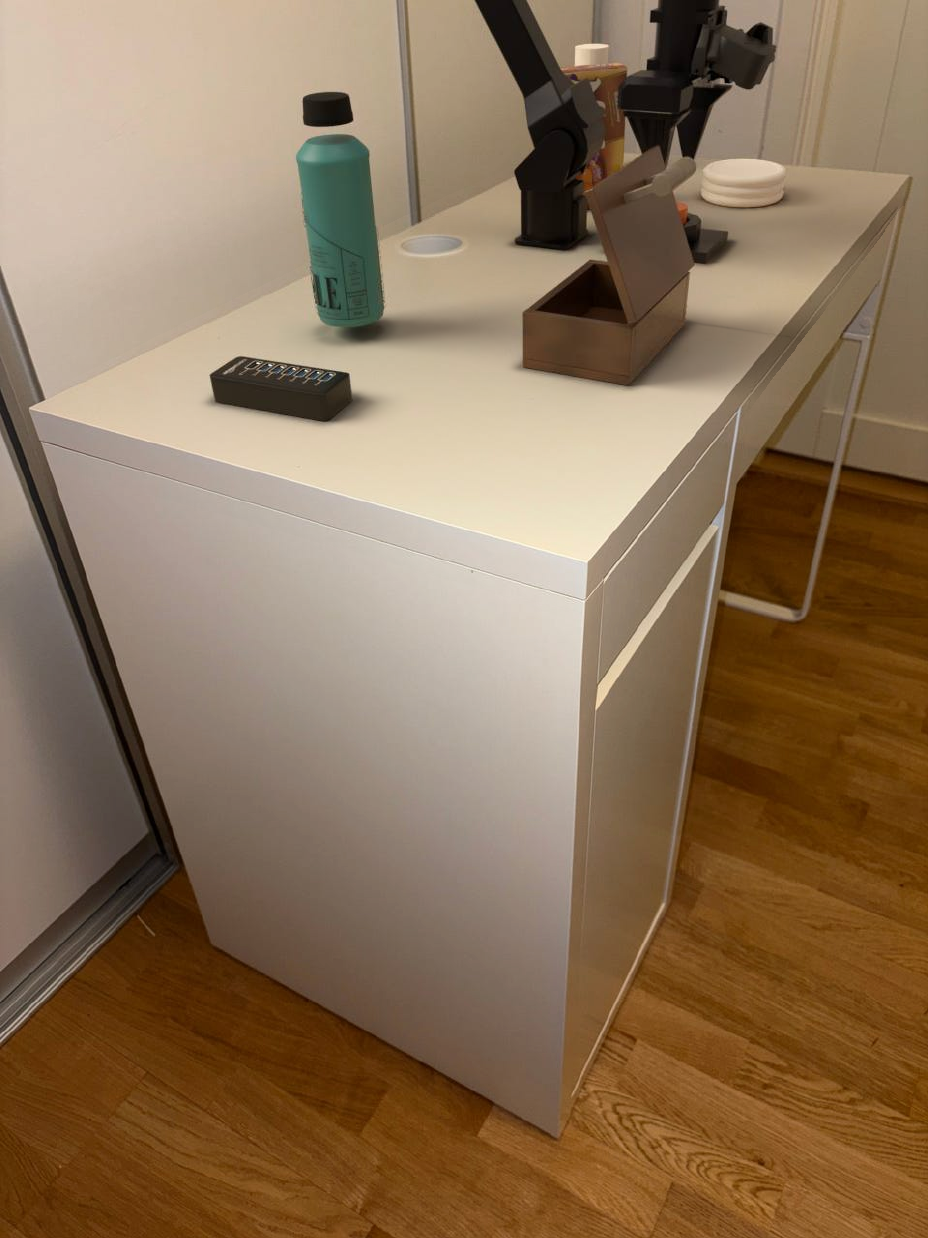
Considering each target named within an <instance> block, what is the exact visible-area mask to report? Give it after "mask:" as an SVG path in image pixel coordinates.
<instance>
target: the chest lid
mask: <svg viewBox="0 0 928 1238" xmlns="http://www.w3.org/2000/svg"><path fill="white" fill-rule="evenodd" d="M696 172H697V163H696V161H695V159H694V160H693V159H692V158H690V157H681V158H680V159H679V160H677V161H675V162H674V163H673V164H671V165H670V166H669V167H667V168H666V167H665V163H664V160H663V157H662V153H661V150H660V147H659V146H655V147H653V148H651V149H649V150H648V151H646V152H645V153H643V154H642V153H641V154H640V155H639V156H637V157H636V158H634V159H633V160H631V161H630V162H628V163H626V164H625V165H623V167H622V168H620V169H619V170H617V171H616V172H614V173H613V174H611V175H610V176H608V177H607V178H605V179H604V180H602V181H600V182H599V183H597V184H596V185H594V186H593V187H591V188H590V189H588V190H587V191H585V195H586V198H587V201H588V204H589V207H590V209H589V210H590V213H591V216H592V219H593V222H594V225H595V228H596V231H597V235H598V237H599V240H600V243H601V246H602V249H603V252H604V256H605V258H606V262H608V264H609V267H610V270H611V273H612V276H613V279H614V282H615V285H616V288H617V291H618V294H619V297H620V300H621V303H622V306H623V309H624V312H625V315H626V318H627V321H628V324H631V323H635V322H637V321H638V320H639V319H640V318H641V317H642V316H643V315H644V314H645V313H646V312H647V311H648V310H649V309H650V308H651V307H652V306H654V305H655V304H656V303H657V302H658V301H659V300H660V299H661V298H662V297H663V296H664V295H665V294H666V293H667V292H668V291H669V290H670V289H671V288H672V287H673V286H674V285H675V284H676V283H677V282H678V281H679V280H680V279H681V278H682V277H683V276H684V275H685V274H686V273H687V272H690V271H691V269H692V268H693V267H695V264H696V263H694V261H693V258H692V254H691V251H690V248H689V244H688V241H687V238H686V234H685V231H684V227H683V224H682V221H681V217H680V214H679V211H678V207H677V204H676V202H677V201H676V197H675V194H674V191H675V190H676V189H678V188H679V187H681V185H683V184H684V183H685V182H686V181H688V180H689V179H690V178H692V177H693V176H694V175H695V173H696Z"/></svg>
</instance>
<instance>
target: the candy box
mask: <svg viewBox="0 0 928 1238" xmlns="http://www.w3.org/2000/svg"><path fill="white" fill-rule="evenodd" d="M559 67H560V69H561V70H562V72H563V73H564V74H565V75H566V76H567V77H568V78H569V79H570V80H571V81H572V82H573V83H574V84H576V83H578V82H580V81H581V80H583V79H585V78H587V79H588V80H589V82H590V84H591V87H592V90H593V93H594V96H595V99H596V101H597V103H598V104H599V106H600V107H601V108H602V109H603V110H604V111H605V112H606V114H605V115H604V116H602V117H601V118H602V120H603V123H604V126H605V136H604V141H603V145H602V147H601V149H600V150H599V152H598V154H596V155H595V156H594V157H593V158H592V159H591V160H589V161H588V163H587V166H586V168H585V171H584V173H583V174H582V175H579V176H578V177H577V178H576V179H577V180H583V181H584V191H583V196H586V195H585V191H587V190H588V189H590V188H591V187H593V186H594V185H596V184H597V183H599V182H600V181H602V180H604V179H605V178H607V177H608V176H610V175H611V174H613V173H614V172H616V171H617V170H619V169H620V168H622V167H623V166H624V161H625V139H626V138H625V136H626V135H625V134H626V133H625V132H626V117H625V116H624V115H623V109H619V108H617V105H618V87H619V85H620V84H621V83H622V82H623V81H624V80H625V79H626V78H627V77H628V66H626V65H625V64H623V63H621V62H608V64H595V65H582V66H575V65H572V66H562V67H561V66H559ZM587 210H590V207H589V204H588V201H587Z"/></svg>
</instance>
